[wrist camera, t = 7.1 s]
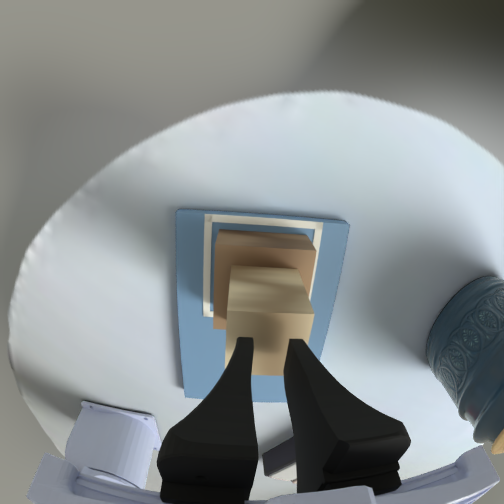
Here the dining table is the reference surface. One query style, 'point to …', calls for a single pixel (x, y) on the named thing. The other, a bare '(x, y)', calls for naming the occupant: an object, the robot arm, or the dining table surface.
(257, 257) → the walnut base
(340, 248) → the board
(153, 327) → the dining table surface
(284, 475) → the multicoloured piece
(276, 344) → the maple block
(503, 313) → the canister
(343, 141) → the dining table surface
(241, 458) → the robot arm
